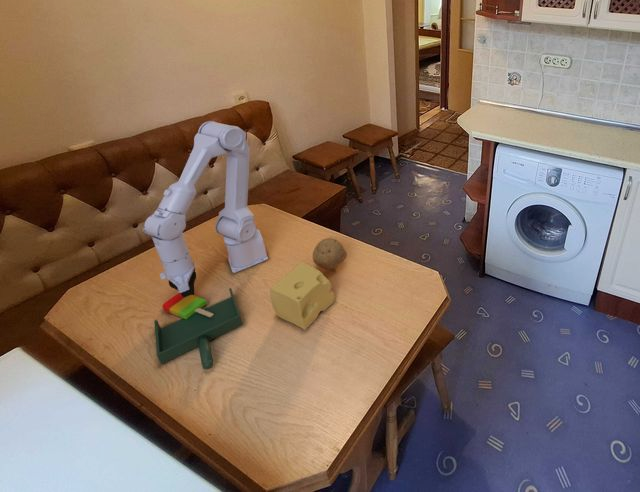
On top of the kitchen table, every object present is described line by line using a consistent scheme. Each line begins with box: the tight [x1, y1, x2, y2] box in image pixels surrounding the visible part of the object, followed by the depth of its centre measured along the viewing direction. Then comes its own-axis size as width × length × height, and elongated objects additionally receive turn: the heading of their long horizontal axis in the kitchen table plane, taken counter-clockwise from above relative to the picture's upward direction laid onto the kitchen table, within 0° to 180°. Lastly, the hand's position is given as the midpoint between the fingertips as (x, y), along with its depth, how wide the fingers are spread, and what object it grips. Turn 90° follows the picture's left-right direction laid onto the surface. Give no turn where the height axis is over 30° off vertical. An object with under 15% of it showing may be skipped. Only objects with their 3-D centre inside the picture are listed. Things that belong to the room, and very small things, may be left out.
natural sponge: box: [312, 237, 347, 271], centre depth 106 cm, size 9×9×10 cm
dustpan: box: [154, 287, 244, 371], centre depth 84 cm, size 20×16×3 cm
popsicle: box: [162, 292, 214, 319], centre depth 92 cm, size 6×15×2 cm, turn 70°
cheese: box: [270, 261, 336, 331], centre depth 92 cm, size 10×11×10 cm
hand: (189, 295), depth 95 cm, fingers closed, pressing on popsicle
